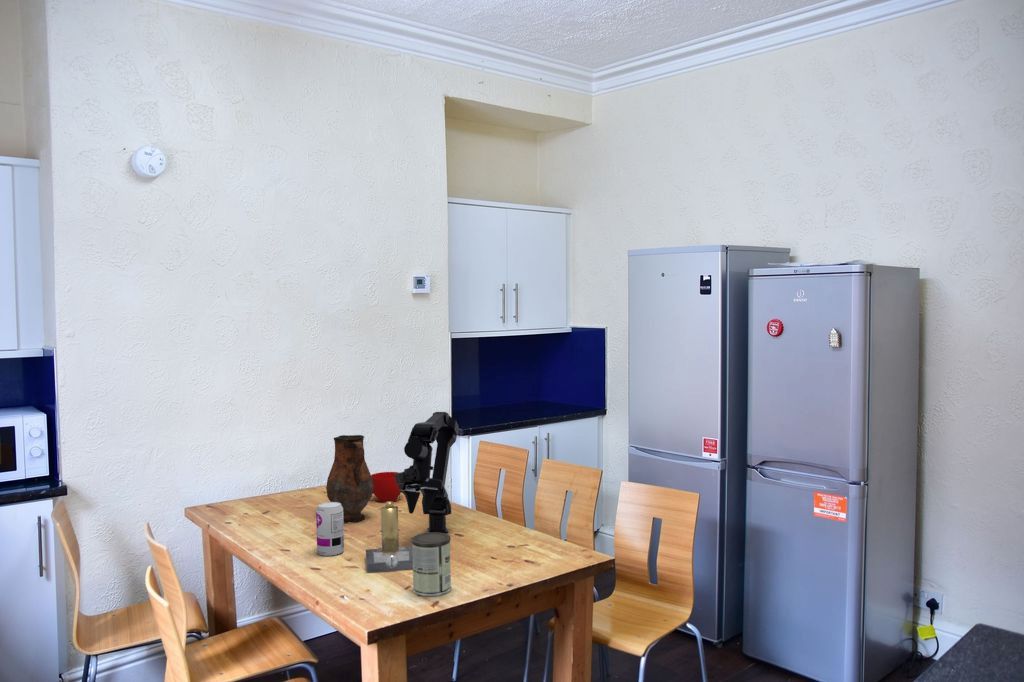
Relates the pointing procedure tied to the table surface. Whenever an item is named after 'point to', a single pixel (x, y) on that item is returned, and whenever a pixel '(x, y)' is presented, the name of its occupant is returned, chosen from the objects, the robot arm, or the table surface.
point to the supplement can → (330, 528)
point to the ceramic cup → (385, 486)
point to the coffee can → (431, 564)
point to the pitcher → (350, 477)
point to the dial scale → (389, 560)
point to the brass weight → (389, 528)
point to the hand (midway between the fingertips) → (417, 513)
